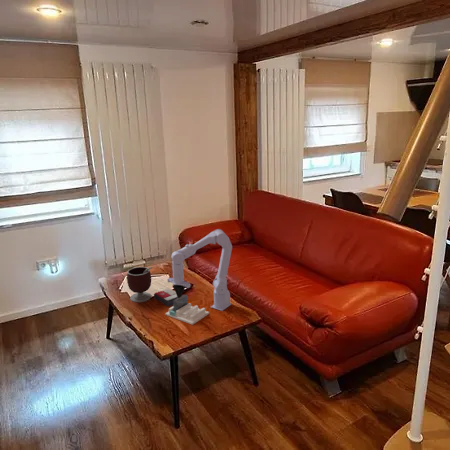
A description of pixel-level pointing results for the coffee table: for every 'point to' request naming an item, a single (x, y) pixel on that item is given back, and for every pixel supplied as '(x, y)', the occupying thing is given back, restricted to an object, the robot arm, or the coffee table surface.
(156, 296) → the calculator
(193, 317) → the rack
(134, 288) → the mate gourd
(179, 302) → the panel
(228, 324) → the coffee table surface
